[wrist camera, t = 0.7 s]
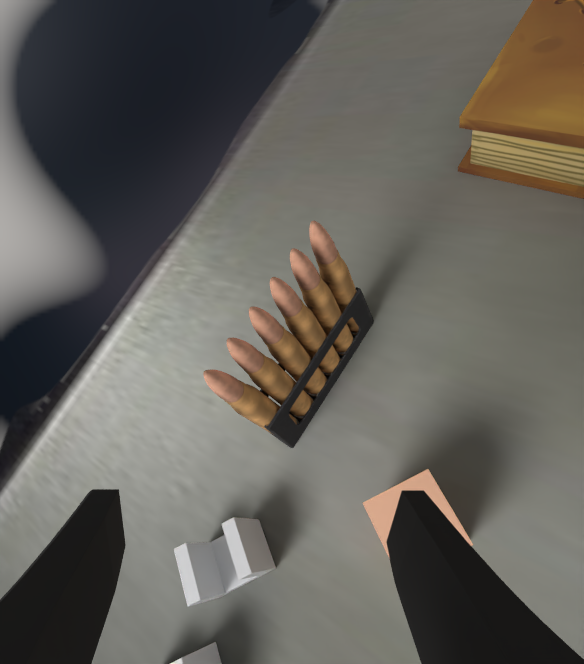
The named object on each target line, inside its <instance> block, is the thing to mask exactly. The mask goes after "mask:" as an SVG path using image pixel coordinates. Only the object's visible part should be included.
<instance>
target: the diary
mask: <svg viewBox="0 0 584 664" xmlns="http://www.w3.org/2000/svg"><path fill="white" fill-rule="evenodd" d="M459 128H465V129H470V130H473V131H472V145H471V147H470V148H469V150H468V152H467V153H466V155H465V157H464V158H463V160H462V161H461V163H460V165H459V166H458V171H460V172H464V173H469V174H473V175H478V176H482V177H487V178H492V179H496V180H501V181H505V182H510V183H514V184H519V185H523V186H528V187H532V188H537V189H542V190H546V191H551V192H555V193H560V194H564V195H569V196H573V197H578V198H583V199H584V0H533V1H532V3H531V4H530V6H529V8H528V9H527V11H526V12H525V14H524V16H523V17H522V19H521V20H520V22H519V24H518V25H517V27H516V28H515V30H514V31H513V33H512V35H511V36H510V38H509V39H508V41H507V43H506V44H505V46H504V47H503V49H502V51H501V52H500V54H499V55H498V57H497V59H496V60H495V62H494V63H493V65H492V66H491V68H490V70H489V71H488V73H487V74H486V76H485V78H484V79H483V81H482V82H481V84H480V86H479V87H478V89H477V90H476V92H475V93H474V95H473V97H472V98H471V100H470V101H469V103H468V105H467V106H466V108H465V109H464V111H463V113H462V114H461V116H460V126H459Z"/></svg>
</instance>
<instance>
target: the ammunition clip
mask: <svg viewBox="0 0 584 664" xmlns="http://www.w3.org/2000/svg"><path fill="white" fill-rule="evenodd" d="M309 232H310V241H311V246H312V249H313V252H314V255H315V257H316V261H317V263H318V266H319V271H320V275H319V274H318V272H317V270H316V268H315V267H314V265H313V264H312V262H311V261H310V260H309V259H308V257H307V256H306V255H304V254H303V253H302V252H301V251H299V250H297V249H294V248H293V249H292V250H291V252H290V261H291V267H292V271H293V274H294V276H295V278H296V280H297V282H298V284H299V287H300V289H301V291H302V294H303V299H304V301H305V303H306V305H307V307H306V306H305V305H304V303H303V302H302V300H301V299H299V297H298V296H297V294H296V293H295V291H294V290H293V289H292V288H291V287H290V286H289V285H288V284H286V283H285V282H284V281H282V280H281V279H279V278H276V277H272V278H271V279H270V289H271V293H272V296H273V298H274V301H275V303H276V305H277V306H278V308H279V310H280V311H281V313H282V315H283V317H284V318H285V321H286V324H287V326H288V328H289V330H290V331H291V333H292V334H293V335H292V334H291V333H290V332H288V331H287V330H285V329H284V327H283V326H282V325H280V324H279V322H278V321H277V320H276V319H275V318H274V317H272V316H271V315H270V314H269V313H267V312H266V311H264V310H263V309H261V308H258V307H250V308H249V316H250V320H251V322H252V324H253V327H254V329H255V330H256V332H257V333H258V335H259V336H260V337H261V338H262V339H263V341H264V343H265V344H266V345H267V346H268V349H269V351H270V353H271V355H272V356H273V357H274V358H275V359H276V360H277V361H278V362H279V364H277V363H276V362H275V361H274V360H272V359H270V358H268V357H266V356H265V355H263V354H262V353H261V352H259V351H258V350H257V349H256V348H255V347H253V346H252V345H250V344H249V343H247V342H245V341H243V340H240V339H237V338H228V339H227V347H228V349H229V352H230V354H231V356H232V357H233V359H234V360H235V361H236V362H237V363H238V364H239V365H240V366H241V367H242V368H243V369H244V371H246V372H247V373H248V374H249V376H250V378H251V379H252V381H253V382H254V383H255V384H256V385H257V386H258V387H260V388H261V390H260V391H259V390H258V389H256V388H255V387H253V386H250V385H248V384H245V383H243V382H241V381H239V380H237V379H236V378H234V377H233V376H231V375H229V374H227V373H224V372H221V371H218V370H206V371H204V378H205V381H206V383H207V384H208V386H209V387H210V388H211V389H212V390H213V391H214V392H215V393H216V394H217V395H218V396H219V397H220V398H222V399H224V400H225V401H226V402H227V403H228V404H230V405H231V406H232V408H233V409H234V410H235V411H236V412H237V413H238V414H240V415H242V416H243V417H245V418H247V419H248V420H250V421H252V422H253V423H255V424H257V425H258V426H260V427H262V428H263V429H265V430H267V431H268V432H270V433H271V434H272V435H274V436H275V437H276V438H278V439H279V440H281V441H282V442H283V443H285V444H286V445H288V446H289V447H291V448H294V446H295V444H296V443H297V441H298V440H299V438H300V437H301V435H302V434H303V432H304V430H305V429H306V427H307V426H308V424H309V423H310V421H311V419H312V418H313V416H314V415H315V413H316V412H317V410H318V409H319V407H320V405H321V404H322V402H323V401H324V399H325V398H326V396H327V395H328V393H329V391H330V390H331V388H332V387H333V385H334V384H335V382H336V380H337V379H338V377H339V376H340V374H341V373H342V371H343V370H344V368H345V366H346V365H347V363H348V362H349V360H350V359H351V357H352V355H353V354H354V352H355V351H356V349H357V348H358V346H359V345H360V343H361V341H362V340H363V338H364V337H365V335H366V334H367V332H368V331H369V329H370V327H371V326H372V324H373V318H372V315H371V313H370V311H369V308H368V306H367V303H366V301H365V299H364V296H363V294H362V291H361V289H360V288H357V287H356V289H355V286H354V283H353V281H352V278H351V275H350V273H349V270H348V267H347V265H346V264H345V262H344V261H343V259H342V258H341V257H340V255H339V252H338V251H337V249H336V247H335V244H334V242H333V240H332V239H331V237H330V235H329V234H328V233H327V231H326V230H325V229H324V228H323V227H322V225H320V224H319V223H318V222H316V221H312V222H311V224H310V229H309ZM320 276H321V277H320ZM356 290H357V291H356ZM285 370H286V371H287V372H288V373H289V374H290V375H291V376H292V377H293V378H294V379H295V380H296V381H297V383H296V382H295V381H294V380H293V379H292V378H291V377H290V376H289V375H288V374H287V373H286V372H285ZM268 396H271V397H272V398H273V399H274V400H276V401H277V402H278V403H279V404H281V407H280V406H279V405H277V404H276V403H275V402H273V401H272V400H271V399H269V398H268Z"/></svg>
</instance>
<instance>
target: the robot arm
mask: <svg viewBox="0 0 584 664" xmlns="http://www.w3.org/2000/svg"><path fill="white" fill-rule="evenodd" d="M386 543H387V548H388V552H389V557H390V562H391V567H392V571H393V576H394V580H395V584H396V587H397V591H398V594H399V597H400V600H401V603H402V606H403V609H404V612H405V615H406V618H407V621H408V624H409V627H410V630H411V633H412V636H413V639H414V642H415V645H416V648H417V651H418V654H419V657H420V660H421V663H422V664H584V659H583V658H581V657H580V656H579V655H578V654H577V653H576V652H575V651H574V650H572V649H571V648H570V647H569V646H568V645H567V644H566V643H565V642H564V641H563V640H562V639H561V638H559V637H558V636H557V635H556V634H555V633H554V632H553V631H552V630H551V629H550V628H549V627H548V626H547V625H545V624H544V623H543V622H542V621H541V620H540V619H539V618H538V617H537V616H536V615H535V614H534V613H533V612H532V611H531V610H530V609H529V608H528V607H527V606H526V605H525V604H524V603H523V602H522V601H521V600H520V599H519V598H518V597H517V596H516V595H515V594H514V593H513V592H512V590H511V589H510V588H509V587H508V586H507V585H506V584H505V583H504V582H503V581H502V580H501V579H500V578H499V577H498V576H497V575H496V573H495V572H494V571H493V570H492V569H491V568H490V567H489V566H488V565H487V563H486V562H485V561H484V560H483V559H482V558H481V557H480V556H479V554H478V553H477V552H476V551H475V550H474V549H473V548H472V547H471V545H470V544H469V543H468V542H467V541H466V540H465V539H464V537H463V536H462V535H461V534H460V533H459V531H458V530H457V529H456V528H455V527H454V526H453V524H452V523H451V522H450V521H449V520H448V518H447V517H446V516H445V515H444V514H443V512H442V511H441V510H440V509H439V508H438V507H437V505H436V504H435V503H434V502H433V501H432V499H431V498H430V497H429V496H428V495H427V494H426V492H425V491H424V490H402V491H401V495H400V498H399V501H398V505H397V508H396V511H395V515H394V518H393V521H392V525H391V528H390V532H389V535H388V538H387V542H386ZM124 550H125V538H124V529H123V521H122V513H121V504H120V496H119V490H91V491H90V492H89V493H88V494H87V495H86V497H85V498H84V499H83V501H82V502H81V503H80V505H79V506H78V507H77V509H76V510H75V511H74V513H73V514H72V515H71V517H70V518H69V519H68V520H67V522H66V523H65V524H64V526H63V527H62V528H61V529H60V531H59V532H58V533H57V534H56V536H55V537H54V538H53V539H52V541H51V542H50V543H49V544H48V546H47V547H46V548H45V549H44V550H43V551H42V553H41V554H40V555H39V556H38V557H37V559H36V560H35V561H34V562H33V563H32V564H31V566H30V567H29V568H28V569H27V570H26V572H25V573H24V574H23V575H22V576H21V577H20V579H19V580H18V581H17V582H16V583H15V584H14V585H13V586H12V588H11V589H10V590H9V591H8V592H7V593H6V594H5V595H4V596H3V597H2V598H1V600H0V664H91V663H92V660H93V657H94V654H95V651H96V648H97V645H98V642H99V639H100V636H101V633H102V630H103V627H104V624H105V621H106V618H107V615H108V612H109V608H110V605H111V602H112V599H113V596H114V593H115V590H116V585H117V581H118V577H119V573H120V568H121V563H122V559H123V554H124Z"/></svg>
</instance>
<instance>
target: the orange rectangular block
mask: <svg viewBox="0 0 584 664" xmlns="http://www.w3.org/2000/svg"><path fill="white" fill-rule="evenodd" d="M402 490H424V491H425V492H426V494H427V495H428V496H429V497H430V498H431V499H432V501H433V502H434V503H435V504H436V505H437V507H438V508H439V509H440V510H441V511H442V512H443V514H444V515H445V516H446V517H447V518H448V520H449V521H450V522H451V523H452V524H453V526H454V527H455V528H456V529H457V530H458V531H459V533H460V534H461V535H462V536H463V537H464V539H465V540H466V541H467V542H468V543H469V544H470V545H471V546H472V545H473V544H472V542H471V540H470V539H469V537H468V535H467V533H466V532H465V530H464V528H463V527H462V525H461V523H460V522H459V520H458V518H457V517H456V515H455V513H454V512H453V510H452V508H451V507H450V505H449V503H448V501H447V500H446V498H445V496H444V495H443V493H442V491H441V490H440V488H439V486H438V485H437V483H436V481H435V480H434V478H433V476H432V475H431V473H430V471H429V469H427V470H425V471H423V472H421V473H419V474H417V475H415V476H413V477H411V478H409V479H407V480H406V481H404V482H402V483H400V484H398V485H396V486H394V487H392V488H390V489H388V490H386V491H385V492H383V493H381V494H379V495H377V496H375V497H373V498H371V499H369V500H367V501H365V502H364V503H363V505H364V507H365V509H366V511H367V513H368V515H369V517H370V519H371V521H372V523H373V525H374V527H375V530H376V532H377V534H378V536H379V538H380V540H381V542H382V544H383V546H384V548H385V550H386V552H387V554H388V556H389V552H388V548H387V543H386V542H387V538H388V535H389V532H390V528H391V525H392V521H393V518H394V515H395V511H396V508H397V505H398V501H399V498H400V495H401V491H402ZM389 558H390V557H389Z"/></svg>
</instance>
